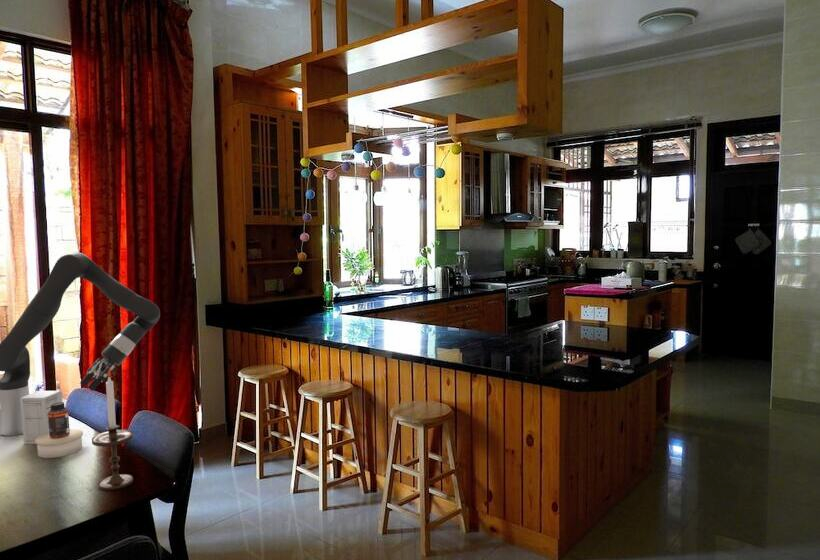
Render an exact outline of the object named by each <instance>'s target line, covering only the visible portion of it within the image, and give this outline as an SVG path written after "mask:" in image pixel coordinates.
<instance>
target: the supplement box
mask: <svg viewBox="0 0 820 560" xmlns="http://www.w3.org/2000/svg"><path fill="white" fill-rule="evenodd" d="M20 401H21V412H22V423H23V434H22V435H23V443H24V445H34V444H35V445H37V444H36V443H35V439H36V438H37V437H39V436H41V435H43V434H46V433H49V423H48V412H49V411H50V409H51V404H52V403H56V402H64V401H63V391H62V390H37V391H35V392H32V393H29V395H27V396H24V397H21V398H20Z"/></svg>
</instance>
